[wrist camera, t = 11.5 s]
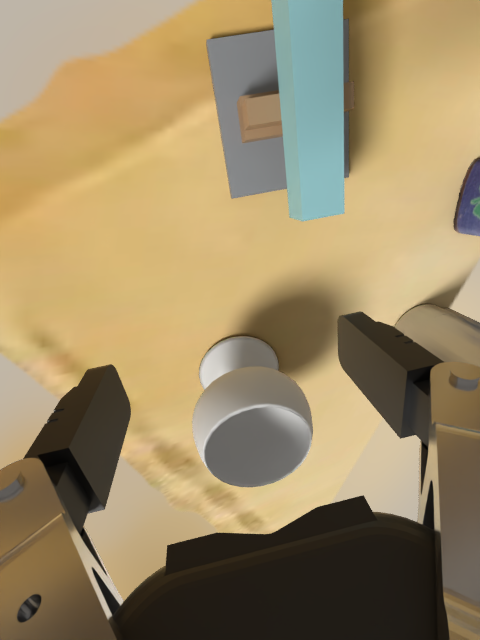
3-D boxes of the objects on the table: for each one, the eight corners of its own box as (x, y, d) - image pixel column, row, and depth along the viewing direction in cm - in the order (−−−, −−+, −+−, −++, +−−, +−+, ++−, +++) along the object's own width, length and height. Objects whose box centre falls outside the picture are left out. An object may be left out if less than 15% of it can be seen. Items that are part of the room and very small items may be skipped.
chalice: (214, 315, 40) (224, 380, 27) (299, 346, 44) (346, 415, 31) (179, 394, 45) (172, 483, 31) (259, 415, 49) (285, 502, 35)
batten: (319, -31, 23) (342, -72, 19) (326, 210, 31) (344, 213, 27) (269, -24, 23) (283, -65, 19) (289, 217, 30) (302, 221, 27)
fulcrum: (343, 23, 29) (377, -14, 24) (344, 177, 35) (372, 175, 30) (206, 44, 28) (209, 10, 23) (231, 198, 34) (238, 200, 29)
